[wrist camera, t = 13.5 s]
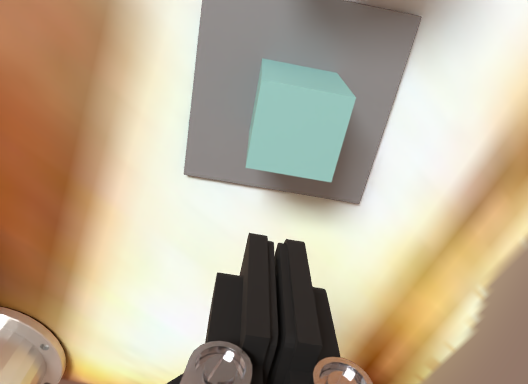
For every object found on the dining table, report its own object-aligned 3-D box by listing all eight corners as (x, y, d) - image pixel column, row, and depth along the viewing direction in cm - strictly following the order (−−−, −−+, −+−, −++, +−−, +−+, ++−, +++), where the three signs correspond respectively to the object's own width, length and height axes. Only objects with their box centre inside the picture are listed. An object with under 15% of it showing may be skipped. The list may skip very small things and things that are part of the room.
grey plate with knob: (357, 200, 33) (376, 244, 28) (184, 171, 32) (168, 210, 27) (419, 15, 27) (457, 25, 22) (206, -29, 26) (190, -31, 20)
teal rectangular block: (318, 143, 30) (331, 182, 25) (249, 131, 30) (245, 167, 24) (337, 73, 28) (356, 97, 22) (262, 58, 28) (261, 79, 22)
